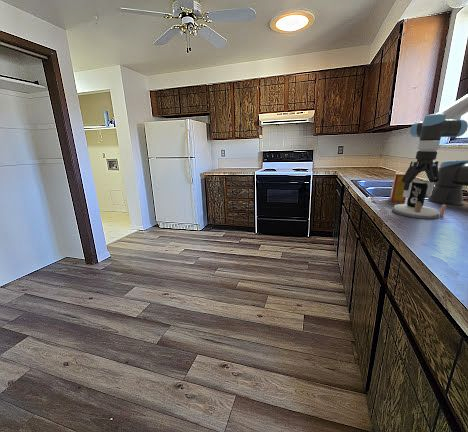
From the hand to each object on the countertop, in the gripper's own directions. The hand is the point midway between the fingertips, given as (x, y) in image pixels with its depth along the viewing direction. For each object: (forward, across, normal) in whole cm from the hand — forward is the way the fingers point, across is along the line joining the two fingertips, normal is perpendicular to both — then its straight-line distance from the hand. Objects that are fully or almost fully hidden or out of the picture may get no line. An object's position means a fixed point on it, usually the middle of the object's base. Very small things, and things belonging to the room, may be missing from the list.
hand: (416, 196), depth 117 cm
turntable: (+6, +3, +3) cm, 8 cm away
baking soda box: (+8, -12, -20) cm, 24 cm away
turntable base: (+7, +3, +3) cm, 9 cm away
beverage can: (+5, 0, 0) cm, 5 cm away
